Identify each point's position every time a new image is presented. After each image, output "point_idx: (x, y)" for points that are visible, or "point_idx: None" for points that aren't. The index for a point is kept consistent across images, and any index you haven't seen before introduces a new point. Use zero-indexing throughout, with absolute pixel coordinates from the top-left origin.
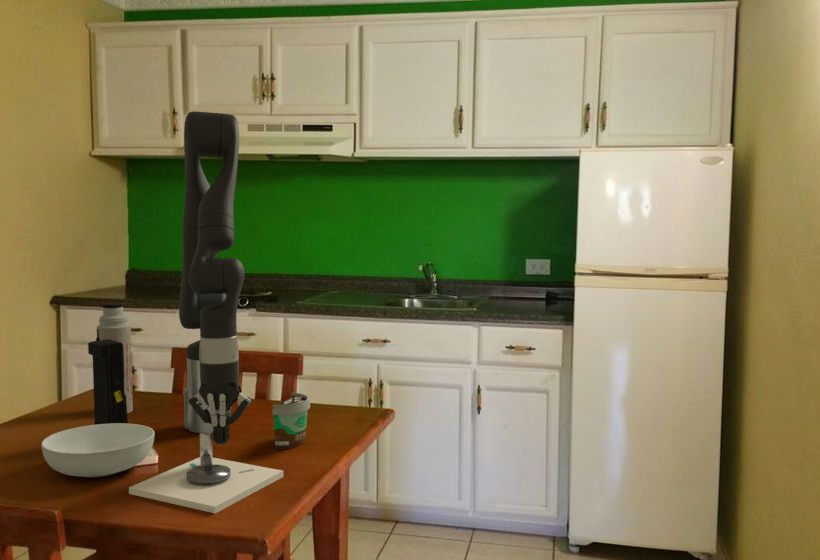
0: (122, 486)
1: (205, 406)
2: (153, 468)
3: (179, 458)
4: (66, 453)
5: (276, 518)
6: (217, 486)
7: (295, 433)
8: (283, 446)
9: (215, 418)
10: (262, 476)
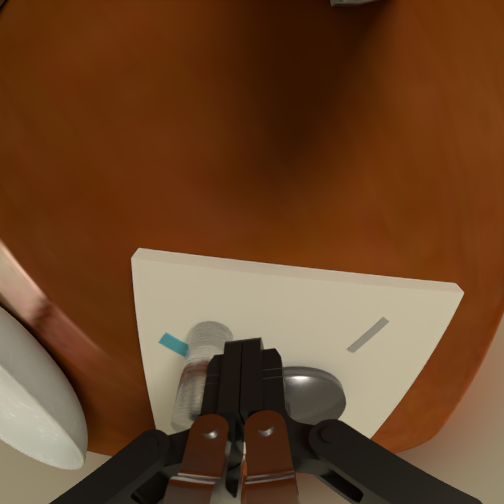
0: (119, 413)
1: (113, 500)
2: (72, 332)
3: (57, 247)
4: (45, 463)
5: (445, 414)
6: None
7: None
8: (368, 2)
9: (232, 484)
10: (419, 344)
